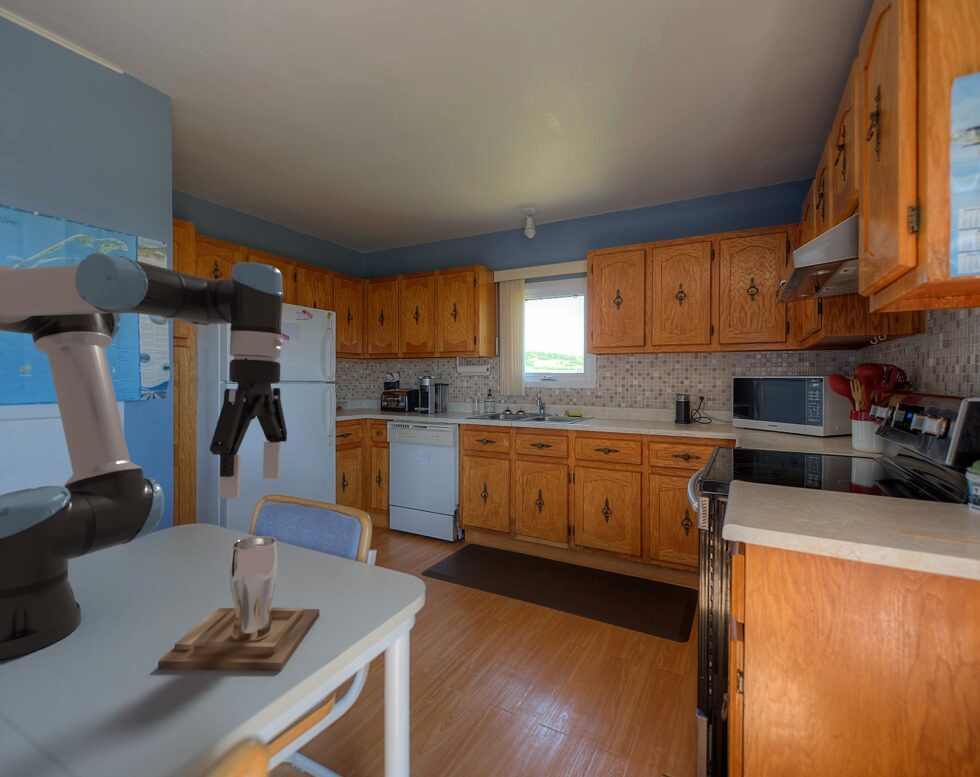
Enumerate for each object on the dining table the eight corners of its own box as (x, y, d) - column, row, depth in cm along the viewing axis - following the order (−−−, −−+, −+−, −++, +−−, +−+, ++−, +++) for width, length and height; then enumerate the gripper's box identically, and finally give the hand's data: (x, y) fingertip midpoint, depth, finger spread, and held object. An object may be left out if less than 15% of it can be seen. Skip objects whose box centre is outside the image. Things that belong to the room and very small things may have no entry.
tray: (158, 669, 67) (158, 653, 67) (220, 614, 83) (220, 601, 83) (281, 670, 68) (281, 654, 68) (319, 615, 84) (319, 602, 84)
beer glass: (256, 647, 71) (258, 552, 71) (218, 641, 73) (219, 547, 73) (285, 625, 78) (286, 537, 78) (249, 619, 80) (251, 533, 79)
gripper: (237, 355, 63) (233, 508, 64) (307, 363, 88) (304, 472, 89) (183, 354, 63) (179, 506, 64) (268, 361, 88) (265, 471, 89)
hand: (252, 487), depth 76 cm, fingers open, 13 cm apart
